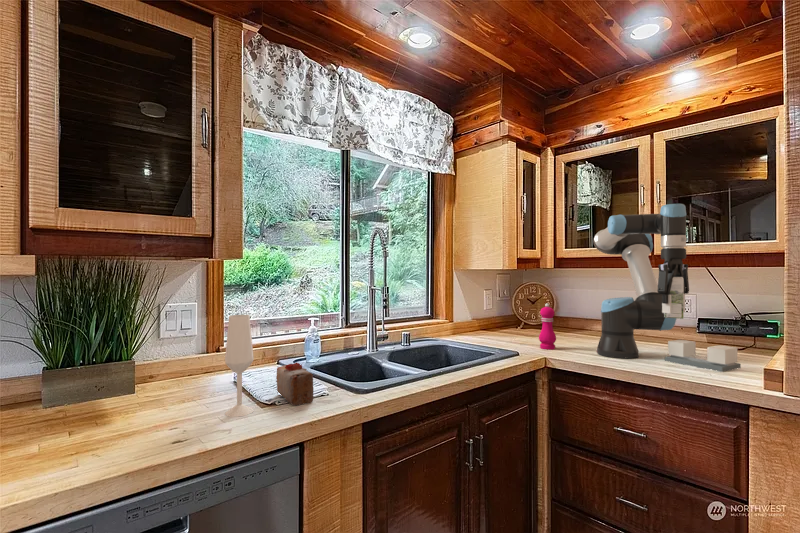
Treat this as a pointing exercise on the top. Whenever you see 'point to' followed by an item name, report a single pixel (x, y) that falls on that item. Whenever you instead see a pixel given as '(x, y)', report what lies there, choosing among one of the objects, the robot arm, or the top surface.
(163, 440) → the top surface
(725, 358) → the block
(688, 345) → the left module
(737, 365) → the board
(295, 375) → the food item
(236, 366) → the champagne flute
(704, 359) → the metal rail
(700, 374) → the top surface
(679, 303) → the syrup box
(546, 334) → the pepper mill
